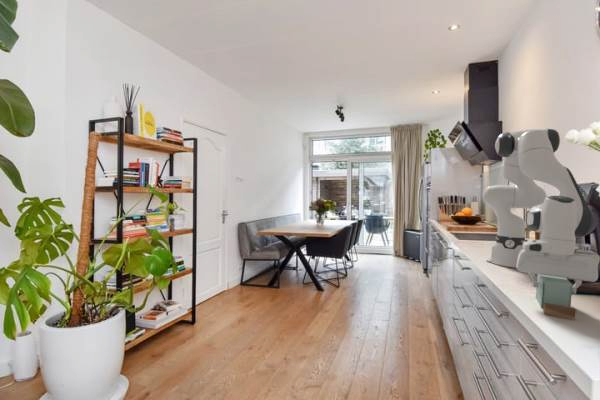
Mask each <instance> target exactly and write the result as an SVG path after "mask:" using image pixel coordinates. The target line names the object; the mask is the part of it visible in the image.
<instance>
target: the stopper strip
mask: <svg viewBox="0 0 600 400" xmlns="http://www.w3.org/2000/svg"><path fill="white" fill-rule="evenodd" d="M542 309H543V310H542V312H543V315H545V316H551V317H557V318H560V319H566V320H573V321H576V313H577V312H576V311H577V309H576V308H575V307H572V306H571V307H567V306H562V305H556V304H550V303H544V308H542Z"/></svg>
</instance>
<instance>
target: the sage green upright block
mask: <svg viewBox="0 0 600 400" xmlns="http://www.w3.org/2000/svg"><path fill="white" fill-rule="evenodd" d="M536 275H537V277H536V281H538V282H539V285H538V288H537V287H535V288H536V291H535V299H536V301H537V303H538V305H539V307H540V308H541V309H543V308H544V303H550V304H556V305H562V306H567V307H572V305H571V304H572V295H573V293H572V286H573V284H572V283H571V281H570V280H568V278H563V277H555V276H548V275H541V274H536Z"/></svg>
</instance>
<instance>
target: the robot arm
mask: <svg viewBox="0 0 600 400" xmlns="http://www.w3.org/2000/svg"><path fill="white" fill-rule="evenodd" d="M560 143H561V137H560V133H559V132H558V131H557V130H556V129H552V128H545V129H543V128H542V129H539V128H537V129H534V128H533V129H526V130H517V131H512V132H509V131H507V132H503V133H500V134H499V135H498V136H497V138H496V140H495V144H494V148H495V151H496V154H497V155H498V156H499V157H503V158H504V159H503V167H502V176H503V178H504V179H505V180H506V181H508V182H510V183H511V185H508V184H496V185H490V186H487V187H486V188H485V189H484V191H483V192H482V199H483V202H484V203H485V205H487V206H488V207H489V208H490V209H491V210H492V211H493V212H494V213H495V214H494V215H495V216H496V220H497V233H496V235H495V243H494V244H493V245H491V253H490V257H489V258H486V262H488V263H493V264H494V265H497V266H502V267H508V268H514V269H515V268H516V269H517V270H518V272H521V273H526V274H527V273H528V276H529V278H530V279H531V282H532V284H531V285H532V287H533V288H538V285H539V282H538V281H537V280H535V277H536V275H538V274H541V275H548V276H555V277H563V278H566V279H570V280H573V281H574V282H575V283H574V284H572V294H574V295H575V294H577V289H578V288H579V287H581V286H582V284H583V281H585V282H591V283H592V282H593V283H594V282H596V281H598V279H599V269H598V268H599V267H598V265H599V264H600V255H599V254H598V253H597V252H594V250H586V249H585V250H584V249H579V248H576V242H577V241H576V240H577V239H576V238H577V237H578V238H583V237H585V236H587V235H589V234H591V233H592V232H593V231H594V230H595V229H596V227H597V217H596V215H595V213H594V211H593V210H592V209H591V207H590V206H589V205H588V203H587V201H586V199H585V198H584V195H583V193H582V191H581V189H580V187H579V185H578V183H577V181H576V178H575V176H574V175H573V173H572V172H571V170H570V169H569V168H568V167H566V166H564V165H563V164H562V163H561V162H560V161H559V160H558V159H557V157H556V155H555V152H557V151H558V149H559V147H560ZM535 181H536V182H537V181H538V182H541V183H545V184H548V185H550V186H552V187H554V188H556V189H557V190H558V191H559V192H560V195H550V196H549V195H547V193H546V191H545V189H544V188H542V187H541V186H539V185H538V184H537V183H536V182H535ZM512 184H514V185H512ZM511 209H525V210H527V211H526V215H525V220H524V218H522V217H521V216H519V215H516V214H515V213H513V212H512V210H511ZM526 226H527V228H529V229H530V230H531V231H532V232H535V233H540V235H539V239H534V240H527V241H526V236H525V233H526V232H525V231H526Z"/></svg>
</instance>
